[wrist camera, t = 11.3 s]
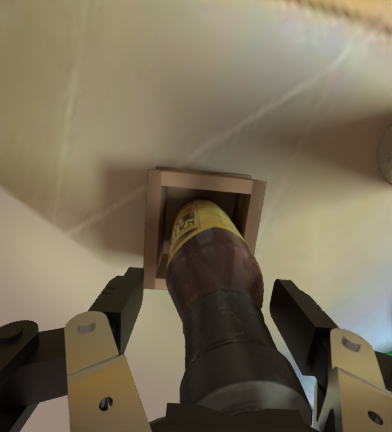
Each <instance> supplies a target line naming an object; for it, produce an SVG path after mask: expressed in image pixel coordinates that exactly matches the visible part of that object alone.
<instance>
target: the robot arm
mask: <svg viewBox="0 0 392 432" xmlns="http://www.w3.org/2000/svg"><path fill="white" fill-rule="evenodd" d="M378 164H379V168H380V171H381V173H382V175H383V176H384V177H385V179H386V180H387V181H388V182H390V183H391V184H392V124H391V125H390V127H389V128H388V129H387V131H386V132H385V134H384V136H383V137H382V140H381V143H380V145H379V151H378ZM143 287H144V268H135V267H129V268H128V270H127V272H126V273H125V275H124V276H116V277H115V278H113V279H112V280H110V281H109V283H108V284H107V285H106V287H105V288H104V289H103V291H102V292H101V294H100V295H99V296H98V298H97V299H96V300H95V302H94V303H93V305H92V306H91V307H90V309H89V310H88V312H84V313H81V314H79V315H76V316H75V317H73V318H72V319H71V320H69V322H68V323H67V324H66V326H65V327H64V328H60V329H54V330H48V331H42V332H39V330H38V325H37V323H35V322H33V321H29V320H23V321H16V322H13V323H9V324H7V325H4V326H2V327H0V432H20V430H21V429H22V427H23V426H24V424H25V423H26V421H27V420H28V418H29V417H30V415H31V414H32V413H33V411H34V410H35V408H36V407H37V405H38V404H39V402H43V401H46V400H50V399H54V398H58V397H61V396H65V395H68V409H69V427H70V432H392V356H390V355H387V354H383V353H380V352H377V351H374V349H373V348H372V346H371V345H370V344H369V343H368V342H367V341H366V340H365V339H363V338H362V337H360V336H359V335H357V334H355V333H353V332H351V331H348V330H345V329H341V328H339V327H338V326H337V325H336V324H335V323H334V322H333V321H332V319H331V318H330V317H329V316H328V315H327V314H326V313H325V312H324V311H322V309H321V308H320V306H319V305H317V303H316V302H315V301H314V300H313V299H312V298H311V297H310V296H309V295H307V294H306V293H304V292H303V291H301V290H299V289H298V287H297V286H296V285H295V284H294V283H293V282H292V281H291V280H281V279H276V280H275V282H274V286H273V291H272V296H271V301H270V314H271V317H272V319H273V321H274V323H275V324H276V326H277V328H278V330H279V332H280V334H281V336H282V338H283V339H284V341H285V343H286V345H287V347H288V349H289V351H290V353H291V354H292V356H293V358H294V360H295V362H296V364H297V366H298V367H299V369H300V371H301V373H302V375H305V376H315V378H316V379H317V380H316V384H315V390H314V419H313V428H312V427H310V426H308V425H305V423H304V420H303V418H302V416H301V414H300V411H299V410H290V409H272V408H266V409H263V410H259V411H256V412H252V413H249V414H245V415H241V416H231V415H228V414H225V413H223V412H220V411H217V410H214V409H211V408H208V407H205V406H203V405H197V404H178V403H167V409H166V416H165V417H161V418H158V419H156V420H154V421H151V422H148V419H147V416H146V413H145V410H144V408H143V405H142V402H141V399H140V396H139V394H138V390H137V388H136V385H135V382H134V379H133V376H132V373H131V371H130V368H129V365H128V362H127V359H126V357H125V355H124V351H125V349H126V346H127V343H128V341H129V338H130V335H131V333H132V330H133V327H134V324H135V322H136V319H137V316H138V313H139V311H140V308H141V305H142V300H143Z"/></svg>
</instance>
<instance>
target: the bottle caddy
mask: <svg viewBox="0 0 392 432" xmlns="http://www.w3.org/2000/svg"><path fill="white" fill-rule="evenodd" d="M265 188H266V182H264V181H259V180H254V179H251V176H247V175H237V174H227V173H217V172H207V171H197V170H187V169H177V168H167V167H156V170H148V177H147V199H146V222H145V244H144V266H143V268H144V287H143V289H156V290H168V289H167V286H166V280H165V277H166V269H167V262H168V256H169V250H170V243H171V237H172V232H173V225H174V220H175V217H176V215H177V213H178V212H179V210H180V209H181V208H182V207H183V206H184V205H185V204H186V203H187V202H189V201H192V200H194V199H199V198H203V199H208V200H211V201H213V202H214V203H216V204H217V205H219V206H220V207H221V208H222V209H223V210H224V211H225V212H226V214H227V215H228V217H229V218H230V220H231V221H232V223H233V224H234V226H235V227H236V229H237V230H238V232H239V233H240V234H241V236H242V237H243V239H244V240H245V242H246V243H247V245H248V246H249V248H250V251H251V253H252V255H253V256H254V252H255V246H256V240H257V235H258V229H259V223H260V217H261V211H262V206H263V200H264V194H265Z"/></svg>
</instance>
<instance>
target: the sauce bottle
mask: <svg viewBox="0 0 392 432" xmlns="http://www.w3.org/2000/svg"><path fill="white" fill-rule="evenodd" d="M165 280H166V286H167V289H168V291H169V294H170V296H171V298H172V300H173V303H174V305H175V307H176V309H177V312H178V314H179V316H180V318H181V320H182V322H183V333H184V336H185V373H184V376H183V379H182V381H181V385H180V404H197V405H203V406H205V407H208V408H211V409H214V410H217V411H220V412H223V413H225V414H228V415H231V416H241V415H245V414H249V413H252V412H256V411H259V410H263V409H266V408H272V409H290V410H299V411H300V414H301V416H302V418H303V420H304V423H305V425H308V426H310V427H311V425H312V410H311V406H310V404H309V401H308V399H307V397H306V395H305V392H304V390H303V387H302V385H301V383H300V381H299V379H298V377H297V376H296V373H295V371H294V369H293V367H292V365H291V364H290V362H289V361H288V360H287V358H286V357H285V356H283V355H282V354H281V353H280V352H279V351H278V350H277V348H276V346H275V344H274V342H273V339H272V337H271V334H270V332H269V330H268V328H267V326H266V324H265V322H264V317H263V314H262V311H261V308H262V303H263V293H264V282H263V276H262V273H261V270H260V267H259V265H258V263H257V261H256V259H255V257H254V256H253V255H252V253H251V251H250V248H249V246H248V245H247V243H246V242H245V240H244V239H243V237H242V236H241V234H240V233H239V232H238V230H237V229H236V227H235V226H234V224H233V223H232V221H231V220H230V218H229V217H228V215H227V214H226V212H225V211H224V210H223V209H222V208H221V207H220V206H219V205H217V204H216V203H214V202H213V201H211V200H208V199H203V198H199V199H194V200H192V201H189V202H187V203H186V204H185V205H184V206H183V207H182V208H181V209H180V210H179V212H178V213H177V215H176V217H175V220H174V225H173V232H172V237H171V243H170V250H169V256H168V262H167V269H166V277H165Z"/></svg>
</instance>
